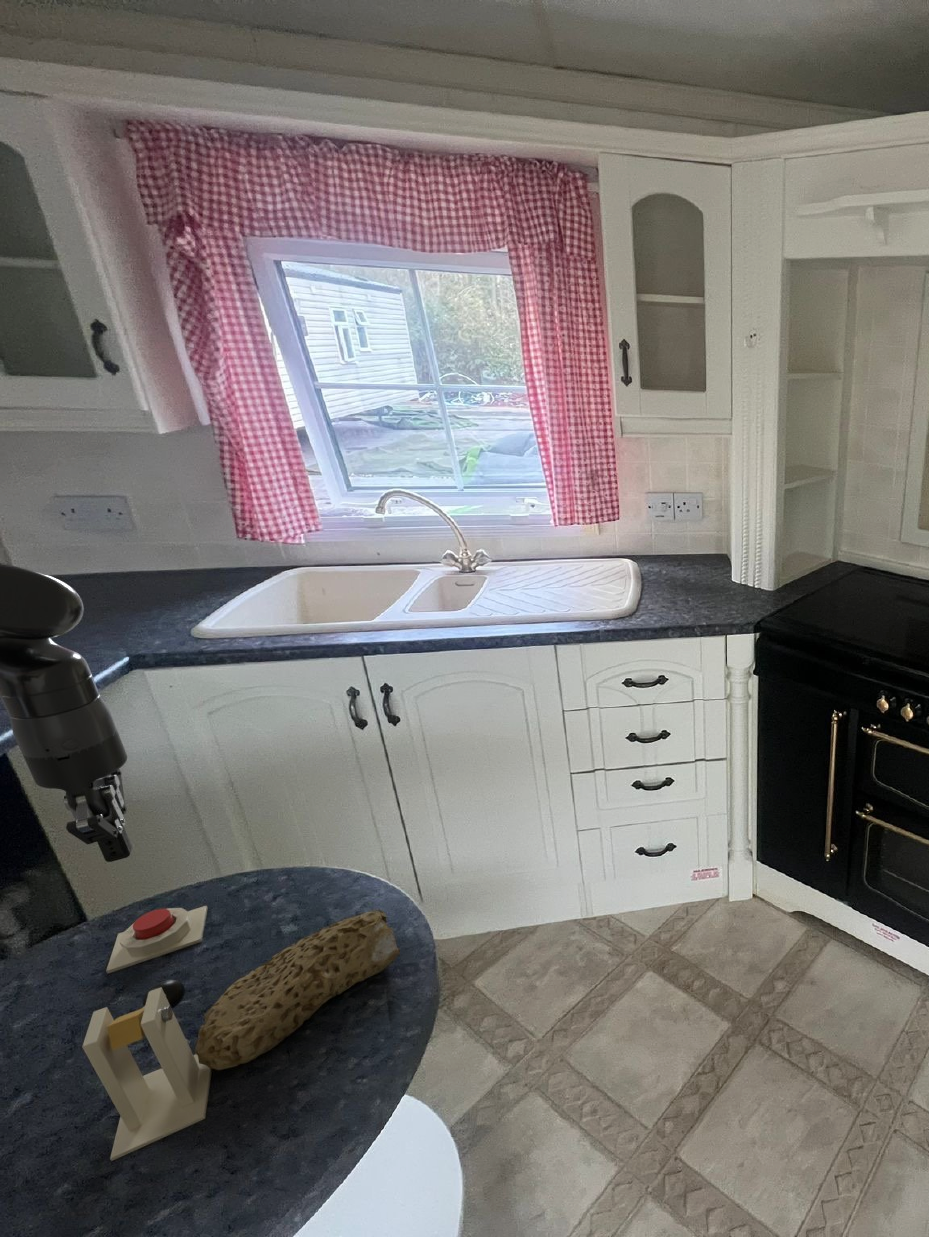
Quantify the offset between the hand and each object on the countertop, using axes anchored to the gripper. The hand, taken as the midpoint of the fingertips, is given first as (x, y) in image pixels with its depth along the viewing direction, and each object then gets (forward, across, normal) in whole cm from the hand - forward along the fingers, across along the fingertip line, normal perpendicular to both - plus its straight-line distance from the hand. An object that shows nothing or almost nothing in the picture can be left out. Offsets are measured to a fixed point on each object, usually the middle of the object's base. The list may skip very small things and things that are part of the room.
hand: (119, 856), depth 83 cm
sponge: (+15, +21, +16) cm, 31 cm away
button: (+13, 0, 0) cm, 13 cm away
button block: (+15, 0, 0) cm, 15 cm away
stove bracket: (+15, +27, +4) cm, 32 cm away
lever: (+8, +23, +4) cm, 25 cm away
